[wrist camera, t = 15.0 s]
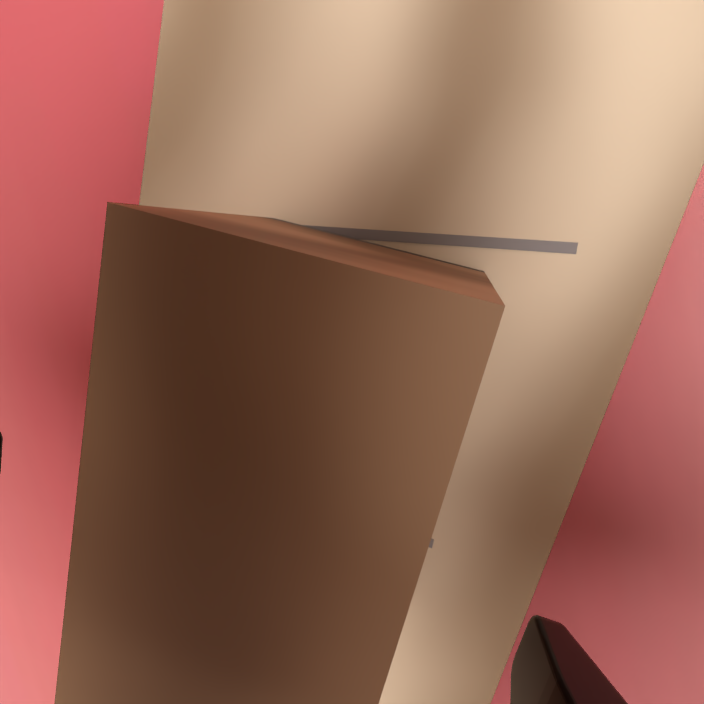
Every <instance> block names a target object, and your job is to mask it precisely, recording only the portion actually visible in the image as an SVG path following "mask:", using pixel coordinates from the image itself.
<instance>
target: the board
mask: <svg viewBox="0 0 704 704" xmlns="http://www.w3.org/2000/svg"><path fill="white" fill-rule="evenodd" d="M703 164H704V0H164V6H163V14H162V22H161V30H160V39H159V47H158V55H157V63H156V71H155V79H154V87H153V96H152V104H151V112H150V120H149V128H148V136H147V144H146V153H145V161H144V169H143V177H142V185H141V193H140V201H139V205H143V206H154V207H164V208H174V209H185V210H195V211H206V212H216V213H226V214H237V215H247V216H258V217H268V218H276V219H280V220H284V221H288V222H292V223H296V224H300V225H304V226H308V227H312V228H315V229H319V230H323V231H327V232H331V233H335V234H339V235H343V236H347V237H351V238H355V239H359V240H363V241H367V242H371V243H375V244H379V245H383V246H387V247H391V248H395V249H399V250H403V251H406V252H410V253H414V254H418V255H422V256H426V257H430V258H434V259H438V260H442V261H446V262H450V263H454V264H458V265H462V266H466V267H470V268H474V269H478V270H482V271H484V272H485V274H486V275H487V277H488V279H489V280H490V282H491V283H492V285H493V287H494V288H495V290H496V292H497V293H498V295H499V296H500V298H501V300H502V301H503V303H504V305H505V308H504V312H503V315H502V318H501V321H500V324H499V327H498V330H497V334H496V337H495V340H494V343H493V346H492V349H491V352H490V356H489V359H488V362H487V365H486V368H485V371H484V374H483V377H482V381H481V384H480V387H479V390H478V393H477V396H476V399H475V403H474V406H473V409H472V412H471V415H470V418H469V421H468V425H467V428H466V431H465V434H464V437H463V440H462V443H461V447H460V450H459V453H458V456H457V459H456V462H455V465H454V469H453V472H452V475H451V478H450V481H449V484H448V487H447V490H446V494H445V497H444V500H443V503H442V506H441V509H440V512H439V516H438V519H437V522H436V525H435V528H434V531H433V534H432V538H431V541H430V544H429V547H428V550H427V553H426V556H425V560H424V563H423V566H422V569H421V572H420V575H419V578H418V582H417V585H416V588H415V591H414V594H413V597H412V600H411V603H410V607H409V610H408V613H407V616H406V619H405V622H404V625H403V629H402V632H401V635H400V638H399V641H398V644H397V647H396V651H395V654H394V657H393V660H392V663H391V666H390V669H389V673H388V676H387V679H386V682H385V685H384V688H383V691H382V695H381V698H380V701H379V704H491V701H492V699H493V696H494V693H495V691H496V688H497V686H498V683H499V681H500V678H501V676H502V673H503V671H504V668H505V666H506V663H507V661H508V658H509V655H510V653H511V650H512V648H513V645H514V643H515V640H516V638H517V635H518V633H519V630H520V628H521V625H522V623H523V620H524V617H525V615H526V612H527V610H528V607H529V605H530V602H531V600H532V597H533V595H534V592H535V590H536V587H537V585H538V582H539V579H540V577H541V574H542V572H543V569H544V567H545V564H546V562H547V559H548V557H549V554H550V552H551V549H552V547H553V544H554V541H555V539H556V536H557V534H558V531H559V529H560V526H561V524H562V521H563V519H564V516H565V514H566V511H567V508H568V506H569V503H570V501H571V498H572V496H573V493H574V491H575V488H576V486H577V483H578V481H579V478H580V476H581V473H582V470H583V468H584V465H585V463H586V460H587V458H588V455H589V453H590V450H591V448H592V445H593V443H594V440H595V438H596V435H597V432H598V430H599V427H600V425H601V422H602V420H603V417H604V415H605V412H606V410H607V407H608V405H609V402H610V400H611V397H612V394H613V392H614V389H615V387H616V384H617V382H618V379H619V377H620V374H621V372H622V369H623V367H624V364H625V362H626V359H627V356H628V354H629V351H630V349H631V346H632V344H633V341H634V339H635V336H636V334H637V331H638V329H639V326H640V324H641V321H642V318H643V316H644V313H645V311H646V308H647V306H648V303H649V301H650V298H651V296H652V293H653V291H654V288H655V286H656V283H657V280H658V278H659V275H660V273H661V270H662V268H663V265H664V263H665V260H666V258H667V255H668V253H669V250H670V248H671V245H672V242H673V240H674V237H675V235H676V232H677V230H678V227H679V225H680V222H681V220H682V217H683V215H684V212H685V210H686V207H687V204H688V202H689V199H690V197H691V194H692V192H693V189H694V187H695V184H696V182H697V179H698V177H699V174H700V172H701V169H702V166H703Z"/></svg>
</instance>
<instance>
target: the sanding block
mask: <svg viewBox="0 0 704 704" xmlns="http://www.w3.org/2000/svg"><path fill="white" fill-rule="evenodd" d="M504 308H505V305H504V303H503V301H502V300H501V298H500V296H499V295H498V293H497V292H496V290H495V288H494V287H493V285H492V283H491V282H490V280H489V279H488V277H487V275H486V274H485V272H484V271H482V270H478V269H474V268H470V267H466V266H462V265H458V264H454V263H450V262H446V261H442V260H438V259H434V258H430V257H426V256H422V255H418V254H414V253H410V252H406V251H403V250H399V249H395V248H391V247H387V246H383V245H379V244H375V243H371V242H367V241H363V240H359V239H355V238H351V237H347V236H343V235H339V234H335V233H331V232H327V231H323V230H319V229H315V228H312V227H308V226H304V225H300V224H296V223H292V222H288V221H284V220H280V219H276V218H268V217H258V216H247V215H237V214H226V213H216V212H206V211H195V210H185V209H174V208H164V207H154V206H143V205H133V204H122V203H112V202H107V211H106V221H105V230H104V240H103V249H102V259H101V268H100V278H99V287H98V297H97V306H96V316H95V325H94V335H93V344H92V354H91V363H90V373H89V382H88V392H87V401H86V411H85V420H84V430H83V439H82V449H81V458H80V468H79V477H78V486H77V496H76V505H75V515H74V524H73V534H72V543H71V553H70V562H69V572H68V581H67V591H66V600H65V610H64V619H63V629H62V638H61V648H60V657H59V667H58V676H57V686H56V695H55V704H379V701H380V698H381V695H382V691H383V688H384V685H385V682H386V679H387V676H388V673H389V669H390V666H391V663H392V660H393V657H394V654H395V651H396V647H397V644H398V641H399V638H400V635H401V632H402V629H403V625H404V622H405V619H406V616H407V613H408V610H409V607H410V603H411V600H412V597H413V594H414V591H415V588H416V585H417V582H418V578H419V575H420V572H421V569H422V566H423V563H424V560H425V556H426V553H427V550H428V547H429V544H430V541H431V538H432V534H433V531H434V528H435V525H436V522H437V519H438V516H439V512H440V509H441V506H442V503H443V500H444V497H445V494H446V490H447V487H448V484H449V481H450V478H451V475H452V472H453V469H454V465H455V462H456V459H457V456H458V453H459V450H460V447H461V443H462V440H463V437H464V434H465V431H466V428H467V425H468V421H469V418H470V415H471V412H472V409H473V406H474V403H475V399H476V396H477V393H478V390H479V387H480V384H481V381H482V377H483V374H484V371H485V368H486V365H487V362H488V359H489V356H490V352H491V349H492V346H493V343H494V340H495V337H496V334H497V330H498V327H499V324H500V321H501V318H502V315H503V312H504Z"/></svg>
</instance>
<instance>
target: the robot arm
mask: <svg viewBox="0 0 704 704" xmlns="http://www.w3.org/2000/svg"><path fill="white" fill-rule="evenodd" d="M2 441H3V438H2V434H1V432H0V472H1V457H2ZM510 704H628V703H627V702H626V701H625V700H624V699H623V697H622V696H621V695H620V694H619V692H618V691H617V690H616V689H615V688H614V686H613V685H612V684H611V683H610V681H609V680H608V679H607V678H606V676H605V675H604V674H603V673H602V672H601V670H600V669H599V668H598V667H597V665H596V664H595V663H594V662H593V661H592V659H591V658H590V657H589V656H588V654H587V653H586V652H585V651H584V649H583V648H582V647H581V646H580V645H579V643H578V642H577V641H576V640H575V638H574V637H573V636H572V635H571V634H570V632H569V631H568V630H567V629H566V628H565V626H564V625H562V624H561V623H559V622H556V621H553V620H550V619H547V618H544V617H541V616H538V615H536V616H533V617H532V618H531V619H530V621H529V622H528V625H527V627H526V630H525V632H524V635H523V637H522V640H521V642H520V645H519V647H518V650H517V652H516V655H515V657H514V661H513V665H512V671H511V703H510Z"/></svg>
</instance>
